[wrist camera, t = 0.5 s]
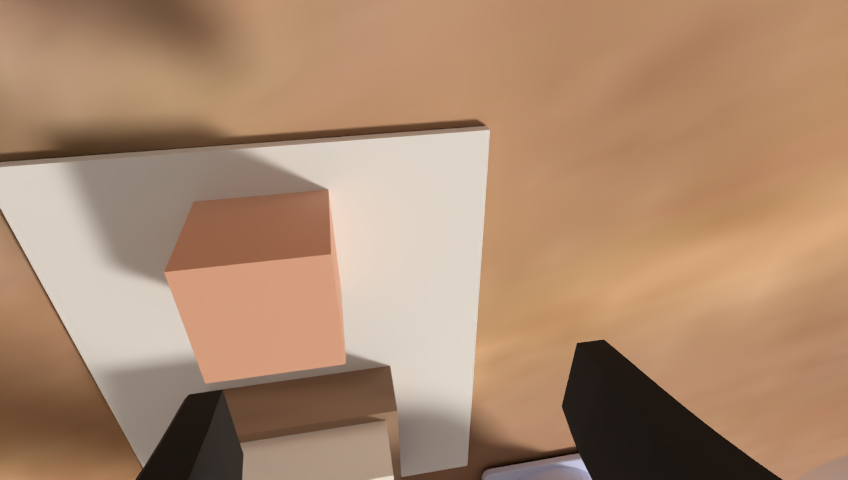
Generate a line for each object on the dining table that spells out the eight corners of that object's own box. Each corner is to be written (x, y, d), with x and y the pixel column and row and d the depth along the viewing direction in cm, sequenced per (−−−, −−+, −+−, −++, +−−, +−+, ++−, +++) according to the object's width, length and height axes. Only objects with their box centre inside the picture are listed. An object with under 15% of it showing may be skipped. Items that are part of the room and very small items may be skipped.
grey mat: (465, 459, 29) (467, 465, 28) (172, 509, 26) (170, 517, 26) (486, 125, 18) (489, 130, 17) (-14, 163, 15) (-22, 168, 15)
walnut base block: (396, 467, 27) (403, 512, 25) (245, 493, 26) (239, 542, 24) (390, 365, 23) (397, 410, 21) (207, 391, 22) (196, 441, 20)
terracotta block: (341, 289, 20) (346, 364, 17) (224, 303, 19) (205, 383, 16) (328, 189, 18) (330, 254, 14) (193, 201, 17) (164, 271, 14)
